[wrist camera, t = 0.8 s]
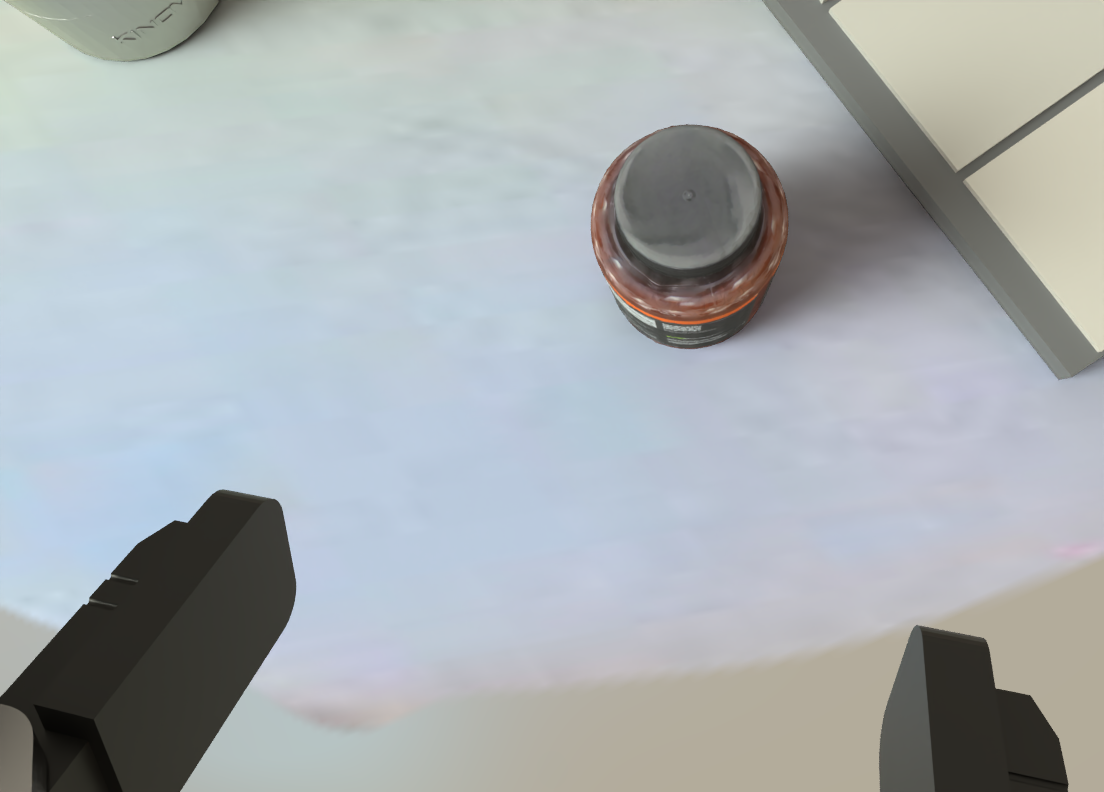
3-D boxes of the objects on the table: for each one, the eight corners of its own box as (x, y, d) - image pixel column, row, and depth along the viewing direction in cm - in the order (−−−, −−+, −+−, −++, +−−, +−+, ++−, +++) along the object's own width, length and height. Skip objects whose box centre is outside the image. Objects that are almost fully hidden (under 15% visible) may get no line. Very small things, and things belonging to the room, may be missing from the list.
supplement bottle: (723, 171, 37) (742, 46, 26) (795, 308, 36) (846, 240, 25) (584, 242, 37) (543, 149, 26) (652, 378, 37) (639, 343, 25)
